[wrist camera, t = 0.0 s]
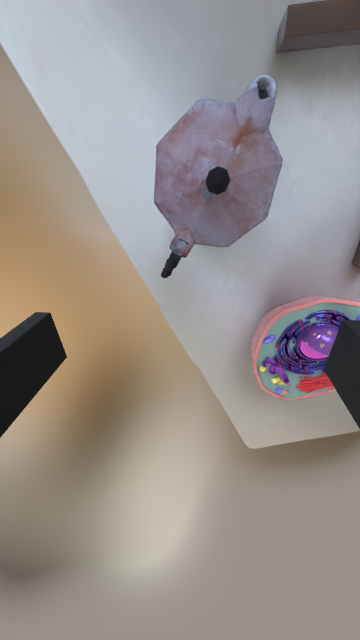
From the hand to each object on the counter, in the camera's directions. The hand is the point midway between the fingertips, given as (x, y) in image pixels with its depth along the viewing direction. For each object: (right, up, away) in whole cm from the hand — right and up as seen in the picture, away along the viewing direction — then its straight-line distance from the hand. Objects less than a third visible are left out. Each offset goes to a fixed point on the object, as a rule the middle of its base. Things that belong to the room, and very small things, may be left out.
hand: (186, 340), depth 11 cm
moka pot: (+4, +19, +21) cm, 29 cm away
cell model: (+20, 0, +31) cm, 37 cm away
